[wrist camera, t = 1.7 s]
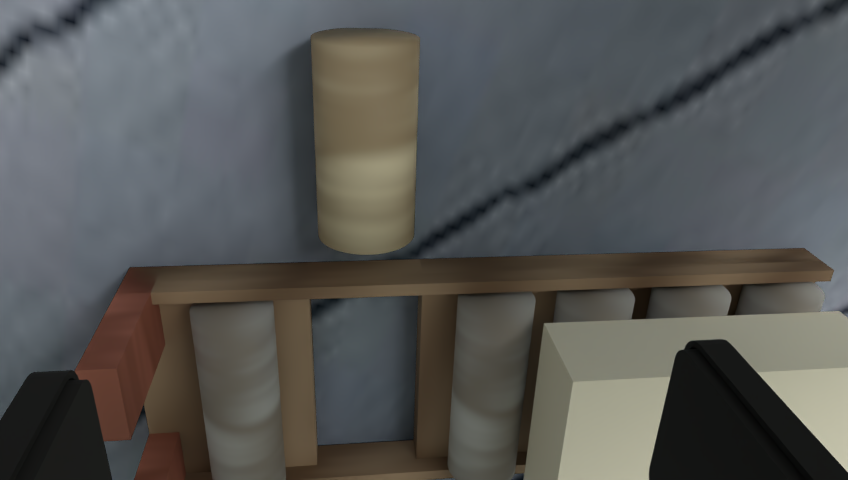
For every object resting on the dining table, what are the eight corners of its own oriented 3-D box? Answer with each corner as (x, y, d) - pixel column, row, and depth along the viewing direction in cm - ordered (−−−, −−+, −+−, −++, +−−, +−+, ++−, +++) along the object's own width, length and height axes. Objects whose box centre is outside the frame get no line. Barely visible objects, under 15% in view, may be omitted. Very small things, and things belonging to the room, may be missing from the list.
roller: (311, 27, 24) (309, 47, 21) (413, 28, 24) (426, 48, 21) (319, 214, 27) (317, 256, 24) (409, 212, 27) (419, 253, 24)
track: (803, 248, 30) (916, 332, 24) (748, 427, 35) (833, 534, 29) (129, 267, 27) (74, 370, 21) (164, 463, 31) (126, 593, 25)
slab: (839, 311, 27) (904, 364, 24) (785, 463, 31) (836, 527, 28) (543, 323, 26) (572, 381, 23) (523, 482, 29) (546, 551, 26)
